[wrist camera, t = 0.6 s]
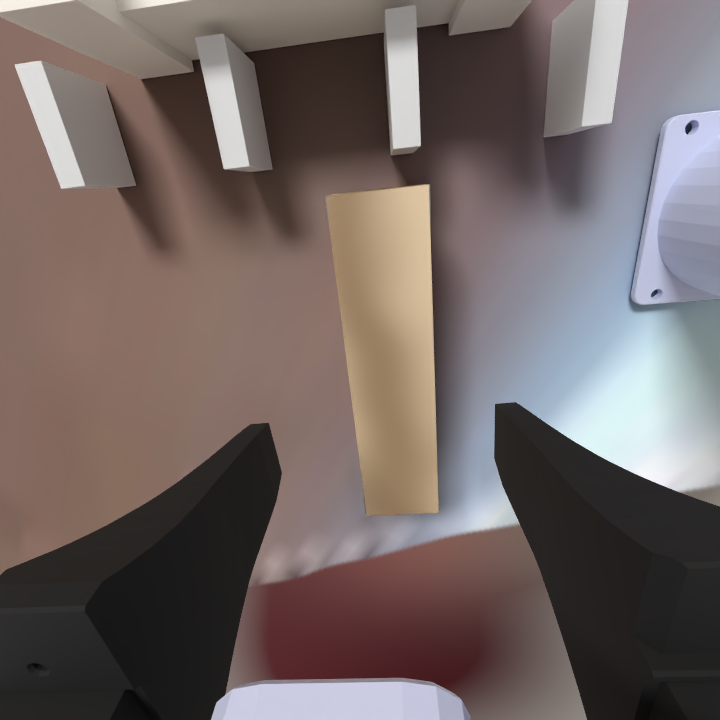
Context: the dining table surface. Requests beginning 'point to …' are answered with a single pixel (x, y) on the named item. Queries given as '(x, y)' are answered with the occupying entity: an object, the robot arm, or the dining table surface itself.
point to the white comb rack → (273, 30)
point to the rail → (389, 341)
